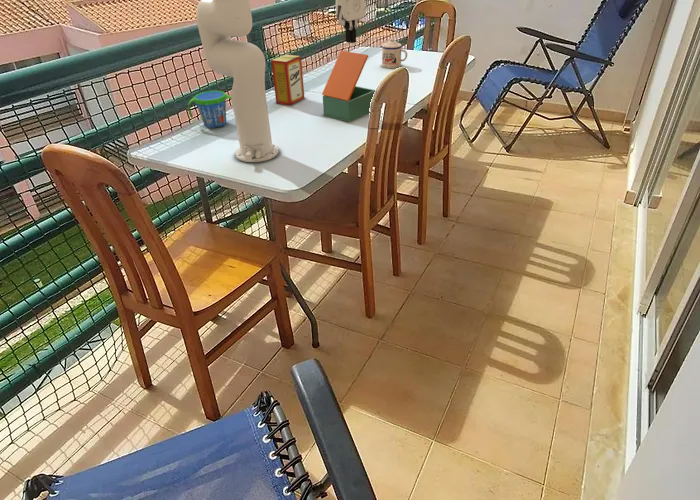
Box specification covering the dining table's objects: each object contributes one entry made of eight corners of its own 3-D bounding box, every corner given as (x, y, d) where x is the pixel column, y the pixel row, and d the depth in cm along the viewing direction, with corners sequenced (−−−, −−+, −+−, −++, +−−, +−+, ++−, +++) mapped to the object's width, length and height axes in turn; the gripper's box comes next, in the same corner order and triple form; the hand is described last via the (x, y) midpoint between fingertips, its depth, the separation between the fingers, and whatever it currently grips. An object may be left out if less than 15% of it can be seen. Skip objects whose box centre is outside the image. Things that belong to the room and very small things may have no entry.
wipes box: (351, 103, 184) (351, 85, 180) (376, 109, 177) (376, 90, 174) (323, 115, 174) (322, 96, 170) (349, 121, 168) (348, 102, 164)
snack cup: (189, 131, 165) (182, 101, 159) (195, 120, 174) (189, 91, 168) (236, 128, 166) (231, 98, 160) (239, 118, 174) (235, 89, 169)
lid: (341, 51, 170) (340, 50, 169) (368, 56, 164) (367, 54, 163) (323, 95, 170) (321, 94, 169) (348, 101, 164) (347, 100, 163)
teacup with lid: (378, 67, 225) (378, 40, 218) (385, 62, 231) (386, 36, 225) (403, 69, 220) (404, 41, 214) (410, 64, 227) (411, 37, 220)
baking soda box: (290, 105, 184) (285, 60, 175) (276, 103, 187) (271, 59, 178) (304, 98, 191) (300, 54, 182) (290, 96, 194) (286, 53, 185)
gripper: (342, -17, 146) (345, 48, 157) (373, -23, 156) (373, 39, 166) (323, -19, 150) (327, 45, 161) (354, -24, 160) (356, 36, 170)
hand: (351, 42), depth 163 cm, fingers closed
